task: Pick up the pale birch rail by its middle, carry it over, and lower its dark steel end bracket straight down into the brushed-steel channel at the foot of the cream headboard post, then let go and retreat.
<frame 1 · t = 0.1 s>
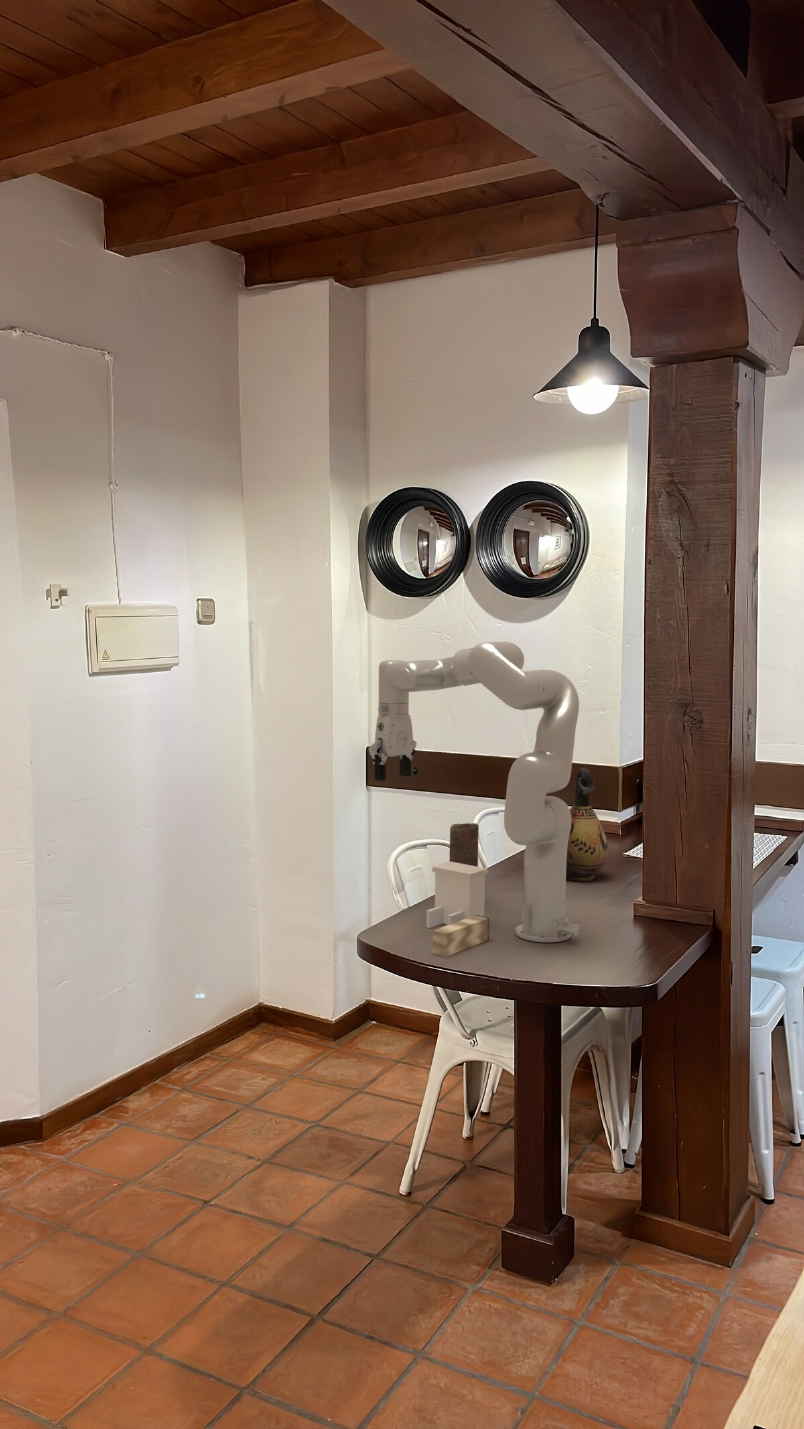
hand: (392, 778, 269), 31 cm above the table, fingers open, 9 cm apart
candle: (462, 903, 271), on the table
rail: (461, 946, 235), on the table
post: (451, 925, 250), on the table
ceramic jug: (578, 877, 298), on the table
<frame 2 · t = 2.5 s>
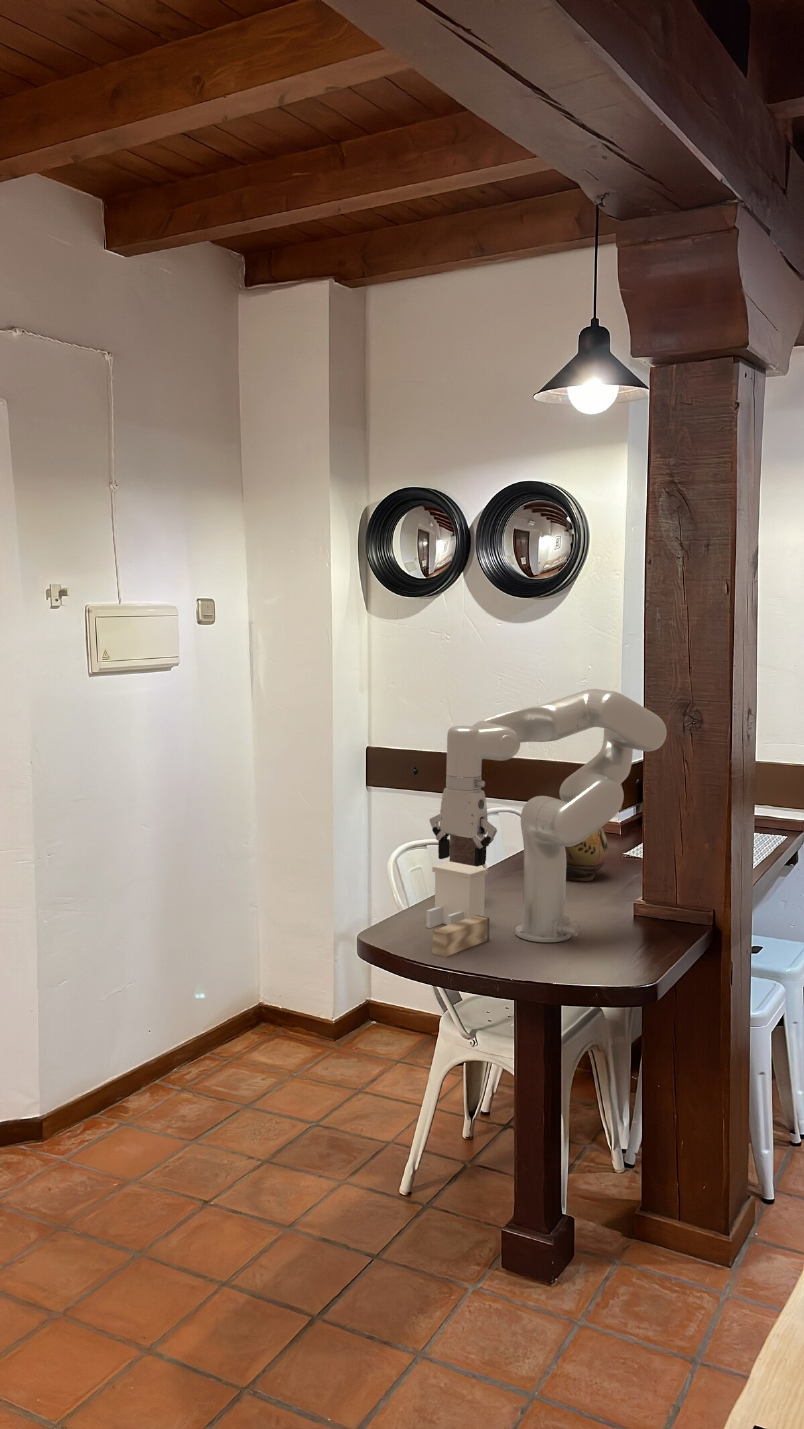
hand: (461, 861, 233), 19 cm above the table, fingers open, 9 cm apart
nothing on the table moved.
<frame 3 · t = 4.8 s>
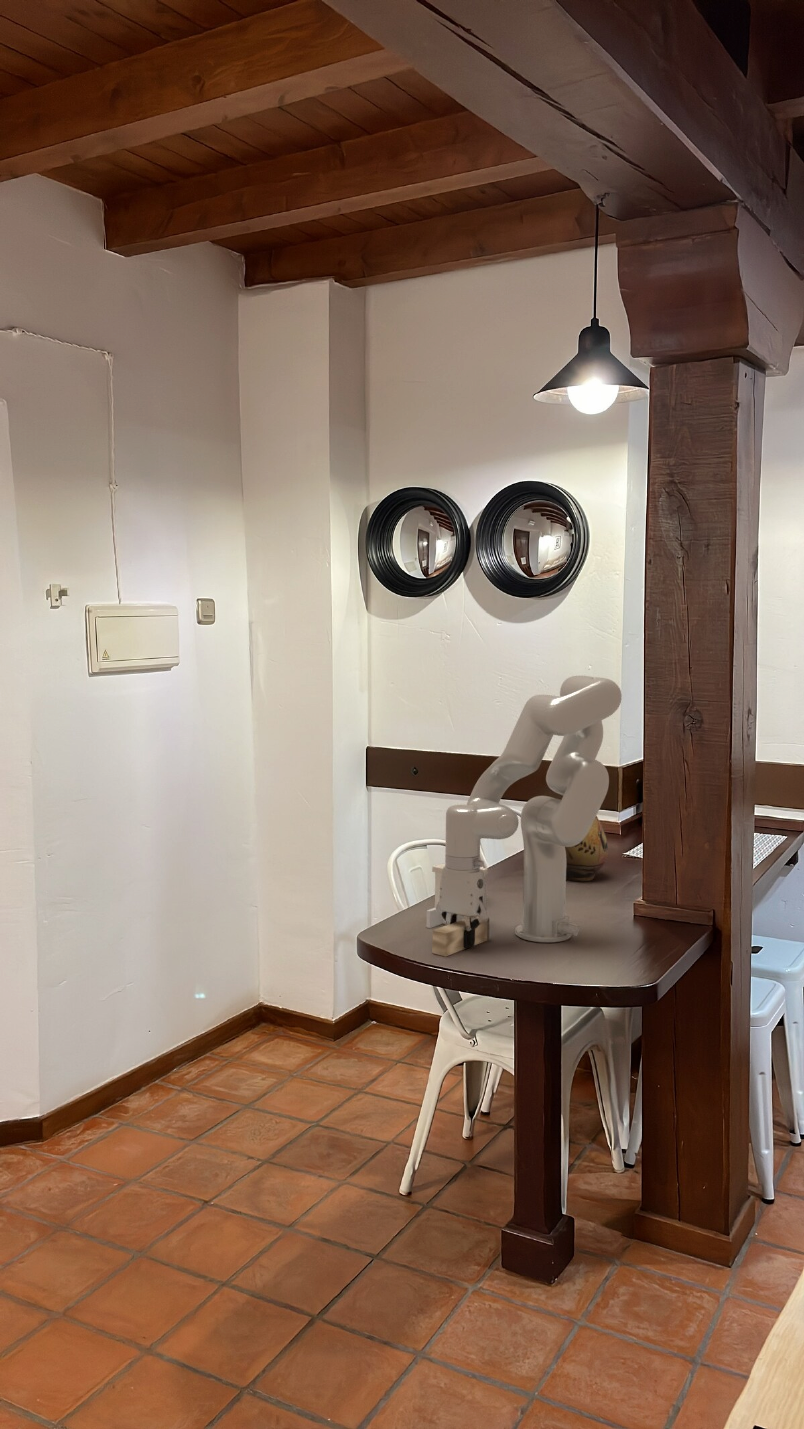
hand: (461, 944, 235), 0 cm above the table, fingers closed on rail, 3 cm apart
rail: (461, 946, 235), on the table, touching gripper
everything else where it was.
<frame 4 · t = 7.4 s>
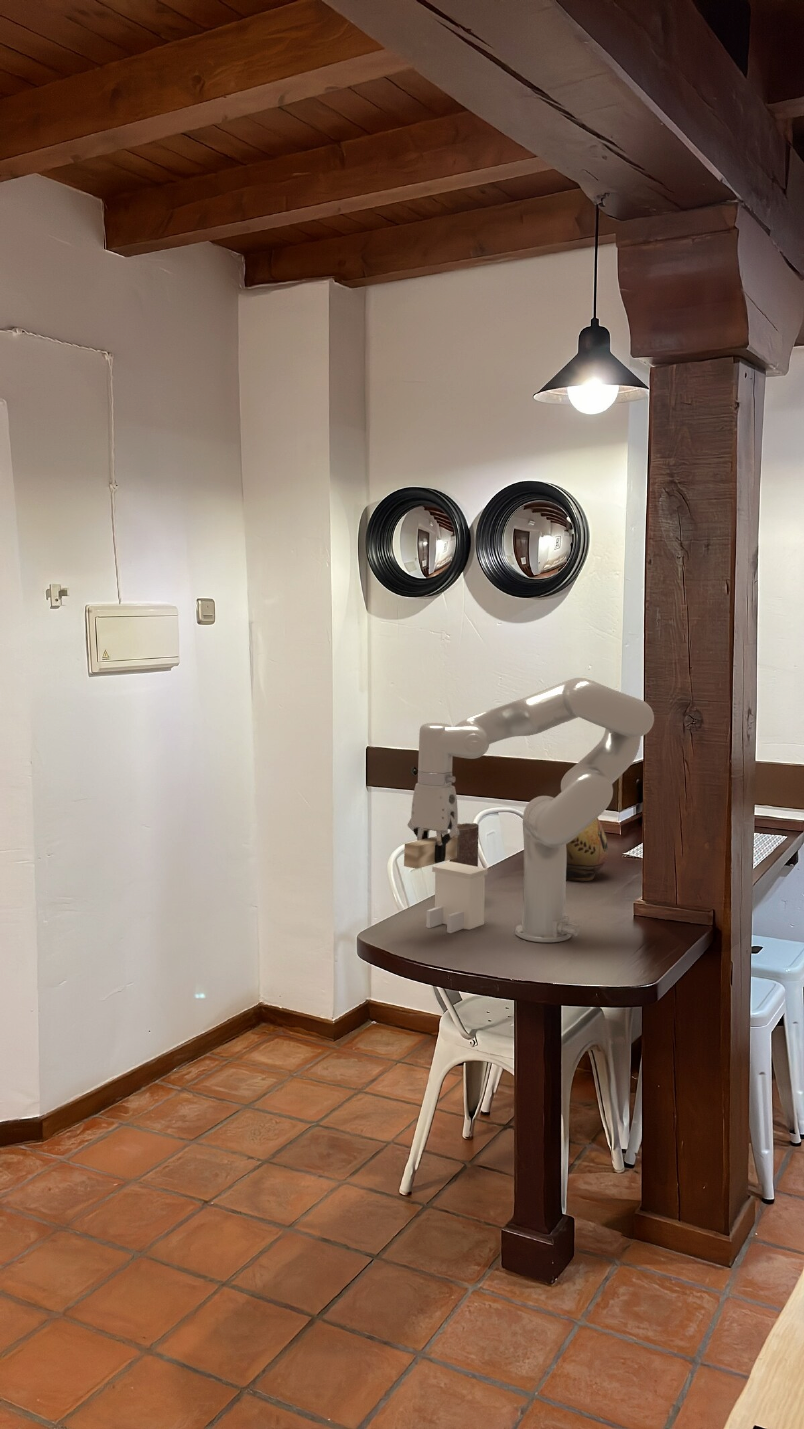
hand: (432, 859, 240), 18 cm above the table, fingers closed on rail, 3 cm apart
rail: (431, 861, 240), point 17 cm above the table, touching gripper
everything else where it was.
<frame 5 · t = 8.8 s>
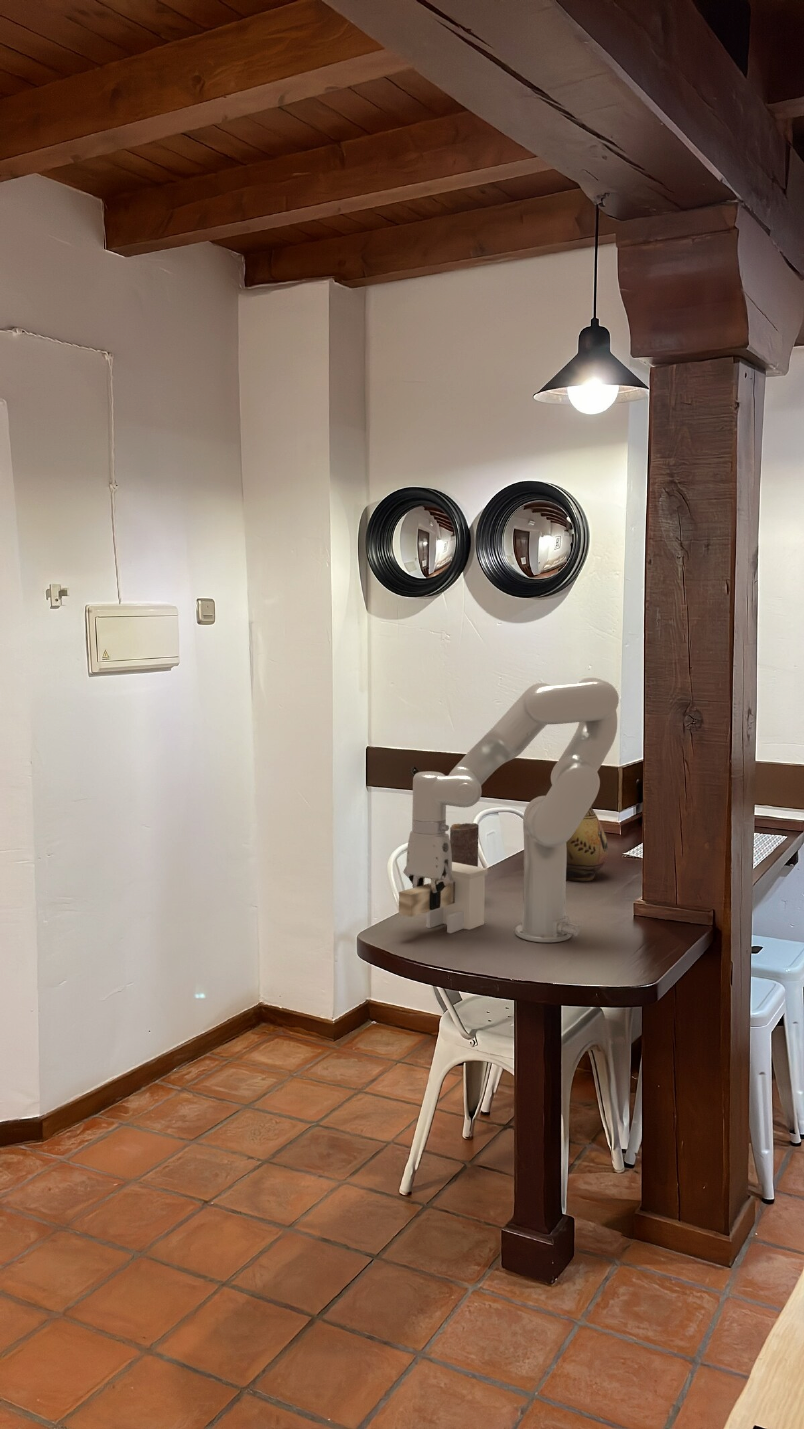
hand: (427, 906, 243), 6 cm above the table, fingers closed on rail, 3 cm apart
rail: (427, 908, 243), point 6 cm above the table, touching gripper
everything else where it was.
when the fingers open (1 cm above the table, at t = 10.1 s): rail stays where it is, on the table.
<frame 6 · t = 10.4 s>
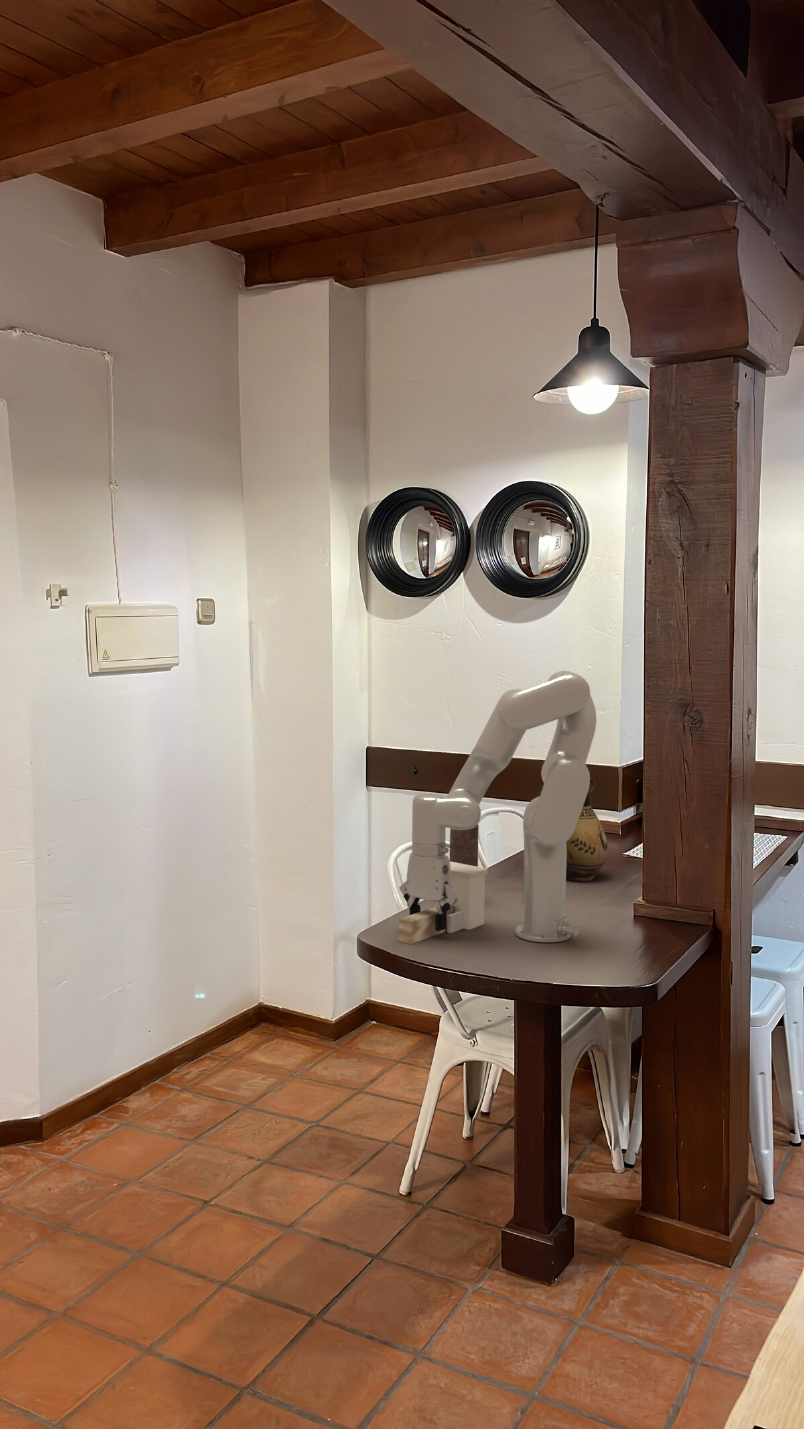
hand: (427, 926, 243), 2 cm above the table, fingers open, 6 cm apart
rail: (427, 934, 243), on the table
everything else where it was.
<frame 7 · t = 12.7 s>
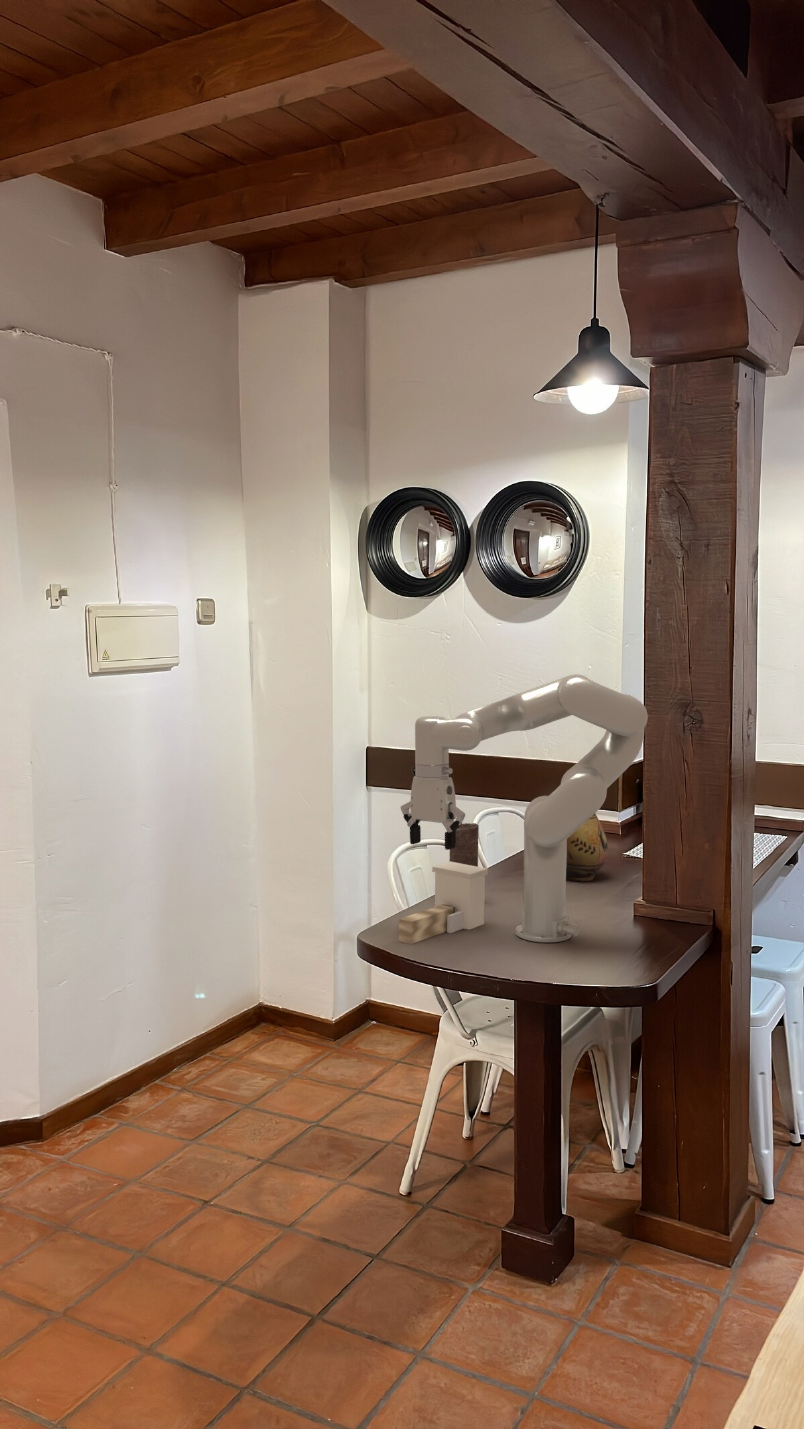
hand: (432, 846, 244), 20 cm above the table, fingers open, 9 cm apart
nothing on the table moved.
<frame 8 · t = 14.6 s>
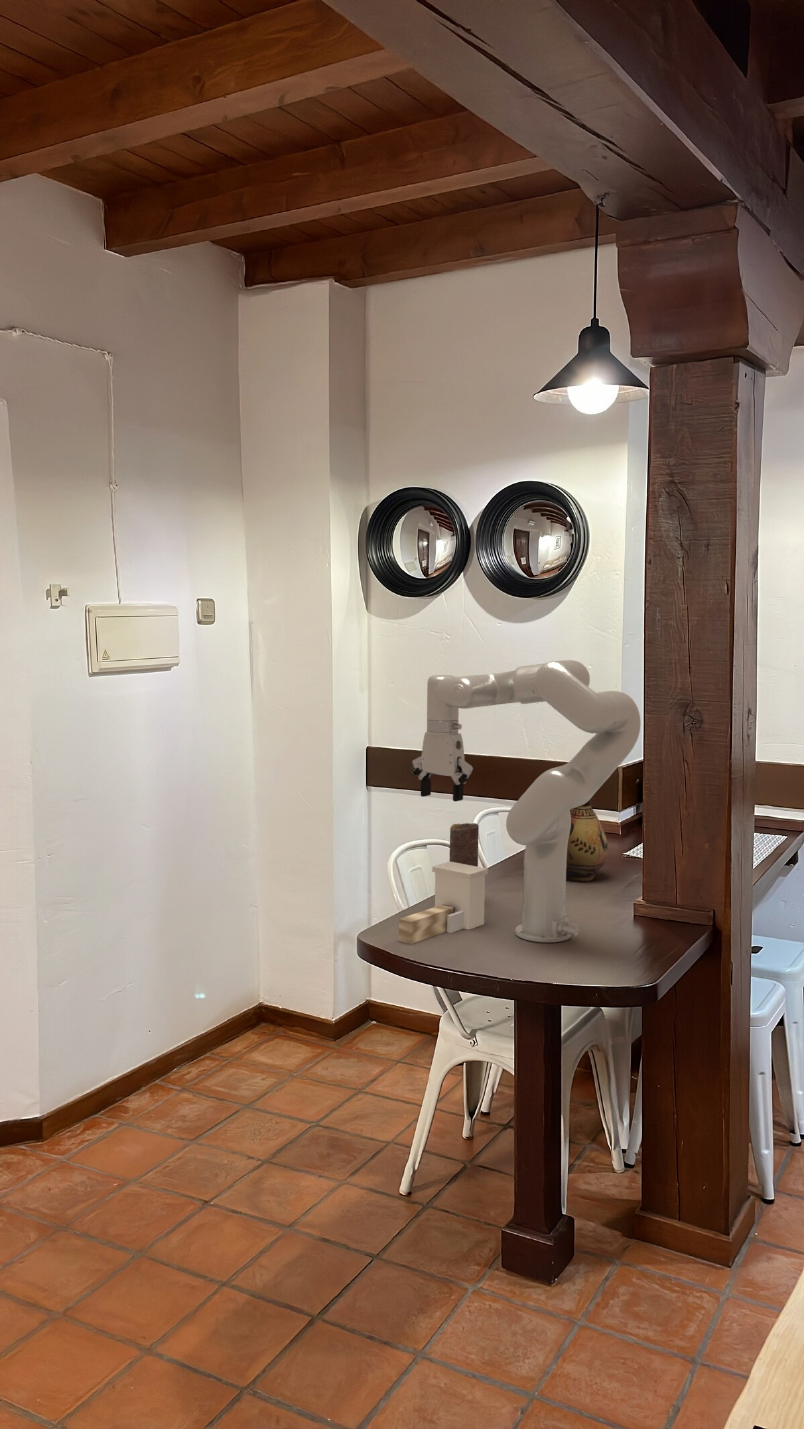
hand: (441, 798, 257), 28 cm above the table, fingers open, 9 cm apart
nothing on the table moved.
at the end: rail 1.0 cm from the target spot on the table beside the post, on the table; rail tilted 0°; the gripper is holding nothing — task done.
